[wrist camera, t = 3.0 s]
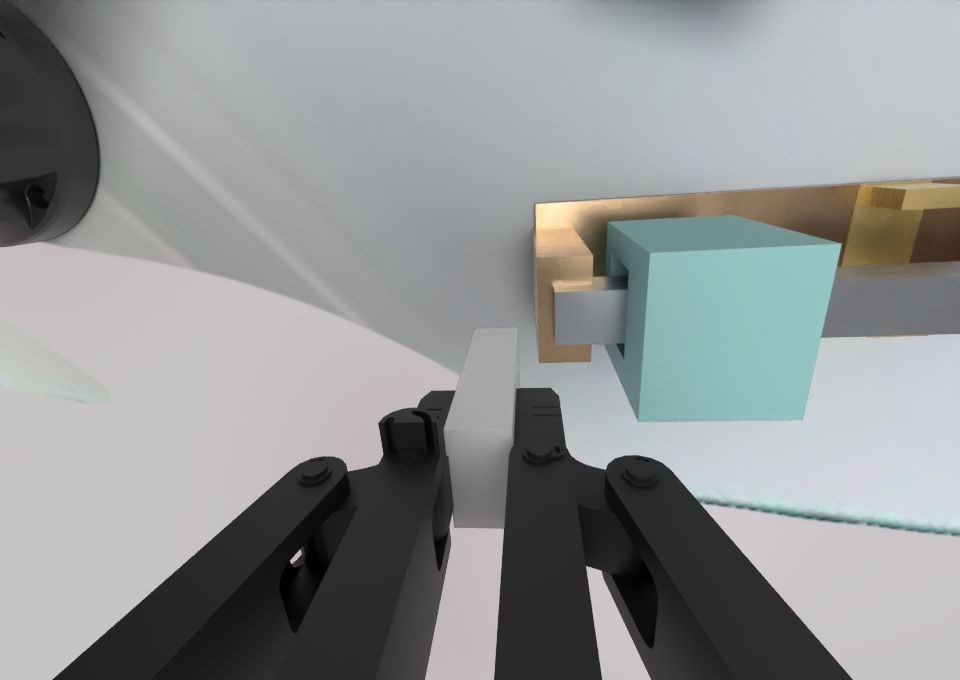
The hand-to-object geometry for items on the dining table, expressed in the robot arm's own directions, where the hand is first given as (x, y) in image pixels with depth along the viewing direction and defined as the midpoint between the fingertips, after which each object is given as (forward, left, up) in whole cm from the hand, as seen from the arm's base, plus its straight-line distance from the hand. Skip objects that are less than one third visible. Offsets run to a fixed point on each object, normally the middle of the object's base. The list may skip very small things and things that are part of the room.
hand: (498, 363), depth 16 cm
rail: (+15, 0, -14) cm, 20 cm away
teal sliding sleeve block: (+8, 0, -6) cm, 10 cm away
